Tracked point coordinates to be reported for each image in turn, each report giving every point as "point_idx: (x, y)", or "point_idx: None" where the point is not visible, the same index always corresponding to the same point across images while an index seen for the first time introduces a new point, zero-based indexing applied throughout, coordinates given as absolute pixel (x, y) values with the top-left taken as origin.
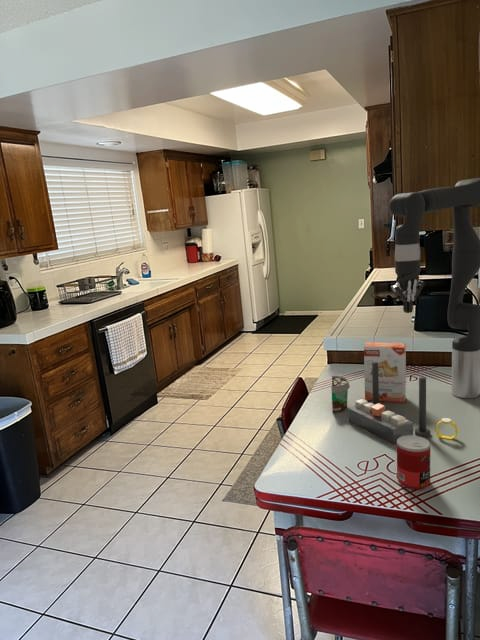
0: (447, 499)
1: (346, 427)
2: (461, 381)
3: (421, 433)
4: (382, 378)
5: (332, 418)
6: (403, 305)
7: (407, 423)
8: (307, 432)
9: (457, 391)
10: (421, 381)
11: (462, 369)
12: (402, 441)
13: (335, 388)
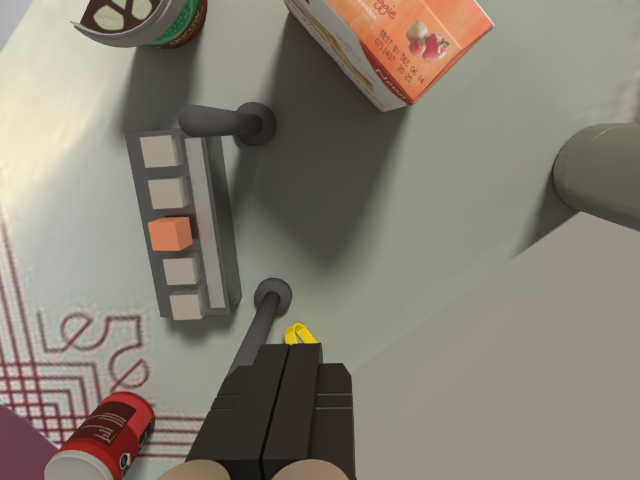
0: (147, 470)
1: (127, 157)
2: (587, 196)
3: (258, 308)
4: (325, 43)
5: (119, 79)
6: (206, 425)
7: (213, 312)
8: (16, 122)
9: (563, 176)
10: None
11: (622, 208)
12: (62, 464)
13: (89, 34)
